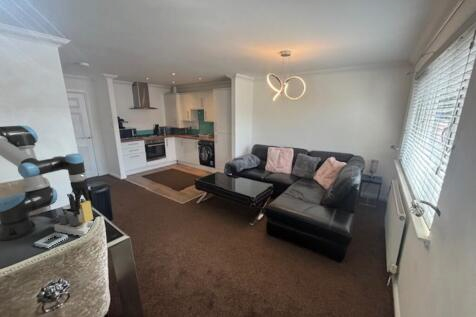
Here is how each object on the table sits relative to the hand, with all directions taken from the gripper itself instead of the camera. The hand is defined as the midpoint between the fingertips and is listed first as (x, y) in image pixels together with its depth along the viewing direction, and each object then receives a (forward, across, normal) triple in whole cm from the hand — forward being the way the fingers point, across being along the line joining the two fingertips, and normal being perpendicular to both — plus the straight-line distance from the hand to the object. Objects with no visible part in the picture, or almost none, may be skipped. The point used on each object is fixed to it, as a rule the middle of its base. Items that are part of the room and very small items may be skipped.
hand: (85, 216), depth 119 cm
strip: (+10, 0, +8) cm, 13 cm away
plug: (+3, 0, 0) cm, 3 cm away
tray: (+10, -13, +10) cm, 20 cm away
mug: (+10, +10, +23) cm, 27 cm away
